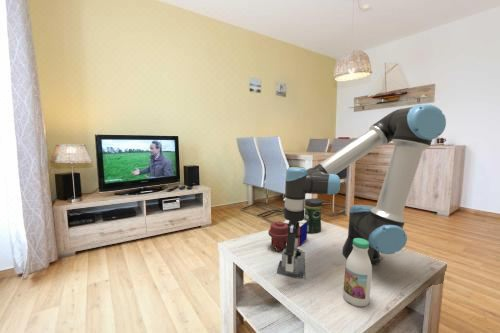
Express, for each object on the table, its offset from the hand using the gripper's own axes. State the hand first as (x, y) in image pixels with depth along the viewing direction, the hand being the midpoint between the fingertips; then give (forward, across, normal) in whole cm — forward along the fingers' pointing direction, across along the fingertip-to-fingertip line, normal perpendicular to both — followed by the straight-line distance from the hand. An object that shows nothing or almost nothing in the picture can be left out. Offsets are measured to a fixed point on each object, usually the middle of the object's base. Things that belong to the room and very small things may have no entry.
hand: (291, 261), depth 89 cm
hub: (+2, 0, +1) cm, 2 cm away
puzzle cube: (+4, -28, -2) cm, 28 cm away
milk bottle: (+4, +9, +22) cm, 24 cm away
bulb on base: (+4, 0, 0) cm, 4 cm away
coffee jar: (+4, -44, +6) cm, 45 cm away
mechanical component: (+4, -17, -8) cm, 19 cm away
